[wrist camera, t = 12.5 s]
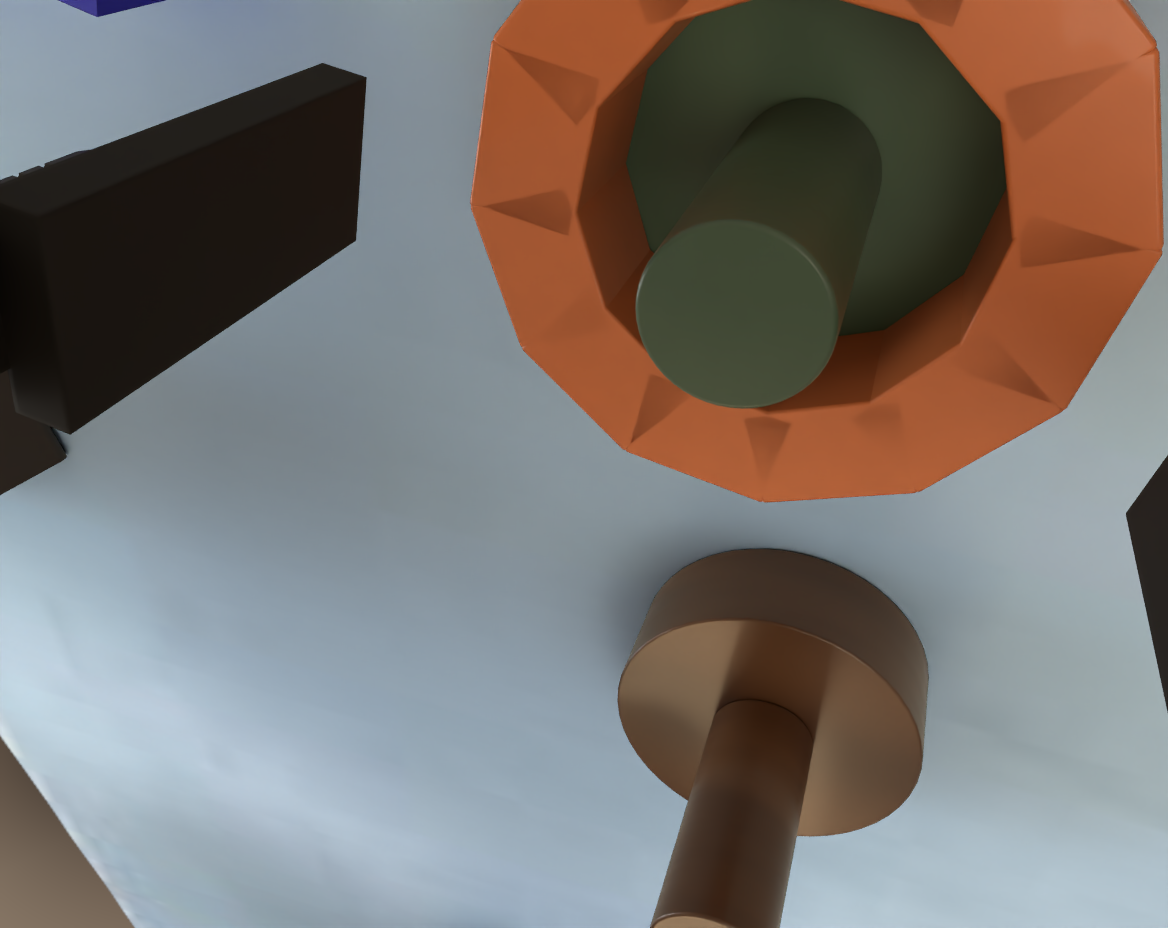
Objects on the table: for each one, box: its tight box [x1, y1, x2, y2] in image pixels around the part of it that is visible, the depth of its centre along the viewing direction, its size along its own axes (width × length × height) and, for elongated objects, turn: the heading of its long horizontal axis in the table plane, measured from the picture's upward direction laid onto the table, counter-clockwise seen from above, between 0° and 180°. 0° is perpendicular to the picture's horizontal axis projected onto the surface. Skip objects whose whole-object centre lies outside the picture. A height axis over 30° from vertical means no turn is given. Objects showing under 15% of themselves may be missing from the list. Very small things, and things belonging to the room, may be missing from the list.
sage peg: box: [626, 0, 1007, 409], centre depth 17 cm, size 8×8×10 cm
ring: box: [470, 0, 1164, 502], centre depth 17 cm, size 11×11×3 cm
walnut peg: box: [618, 549, 929, 928], centre depth 25 cm, size 8×8×10 cm
